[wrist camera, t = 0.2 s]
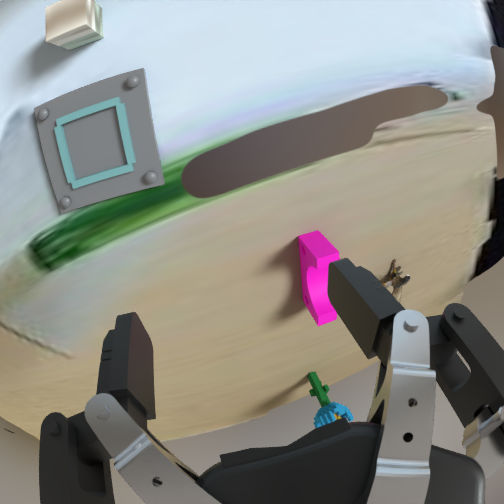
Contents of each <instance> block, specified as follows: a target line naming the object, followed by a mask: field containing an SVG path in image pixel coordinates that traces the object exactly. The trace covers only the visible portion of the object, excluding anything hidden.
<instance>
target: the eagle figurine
mask: <svg viewBox="0 0 504 504" xmlns="http://www.w3.org/2000/svg"><path fill="white" fill-rule="evenodd" d="M395 263H396V259H395V260H394V262H393V272H392V274H391V276H390V277H389V279H388V282H386V283H382V284H383V285H385V286H393V288H394V291H393V292H392V295H393V296H394V297H395V298H396V300H397V301H398V302H399V303H400V299H401V291H402V287H403V286H404V285H406V284H407V282H408V281H409V280H410V276H409V274H408V275H407V276H405V277H404V278H401V277H400V276H399V275H401V274H402V273H403V271H402V272H400V273H397V272H398V271H399V270H400V268H401V267H400V266H398V267H397V268H396V267H395ZM394 277H396V278H395V279H393V278H394ZM389 280H390V281H389Z"/></svg>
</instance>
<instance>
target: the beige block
mask: <svg viewBox="0 0 504 504" xmlns="http://www.w3.org/2000/svg"><path fill="white" fill-rule="evenodd" d="M102 38H104V37H103V24H102V8H101V7H100V6H99V5H98V4H97V3H96V2H95V0H60V1H58V2H56V3H54V4H52V5H50V6H48V7H46V42H49V43H52V44H54V45H57V46H60V47H62V48H65V49H67V50H72V49H75V48H77V47H80V46H82V45H85V44H88V43H90V42H93V41H96V40H99V39H102Z"/></svg>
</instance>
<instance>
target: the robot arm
mask: <svg viewBox="0 0 504 504" xmlns="http://www.w3.org/2000/svg"><path fill="white" fill-rule="evenodd" d="M327 293H328V298H329V301H330V303H331V305H332V306H333V308H334V309H335V311H336V312H337V314H338V315H339V316H340V318H341V319H342V321H343V322H344V324H345V325H346V327H347V328H348V330H349V331H350V333H351V334H352V336H353V337H354V339H355V340H356V342H357V343H358V345H359V346H360V348H361V349H362V351H363V352H364V354H365V355H366V357H367V358H368V359H370V358H373V357H375V356H378V358H379V359H380V362H379V366H378V372H377V379H376V386H375V390H374V396H373V401H372V405H371V408H370V411H369V414H368V417H367V421H366V422H350V423H348V421H347V419H346V417H343V418H341V419H338V420H336V421H333V422H331V423H328V424H326V425H323V426H320V427H318V428H315V429H314V430H312V431H311V432H309V433H308V434H306V435H305V436H303V437H301V438H300V439H298V440H297V441H295V442H293V443H292V444H290V445H288V446H283V447H269V448H268V447H267V448H249V449H245V450H241V451H237V452H232V453H227V454H222V455H220V458H221V462H219V463H217V464H215V465H213V466H212V467H210V468H209V469H207V470H206V471H205V472H204V473H203V474H202V475H201V476H199V475H198V474H197V473H195V472H194V471H193V470H192V469H190V468H189V467H188V466H187V465H185V464H184V463H183V462H182V461H180V460H179V459H178V458H177V457H176V456H175V455H174V454H173V453H171V452H170V451H169V450H168V449H167V448H166V447H165V446H164V445H163V444H162V443H161V442H160V441H159V440H158V439H157V438H156V437H155V436H154V435H153V434H152V433H151V432H150V431H149V430H148V429H147V420H150V419H156V414H155V397H154V370H153V346H152V342H151V339H150V337H149V335H148V333H147V331H146V330H145V328H144V326H143V324H142V322H141V321H140V319H139V317H138V315H137V314H136V313H135V312H132V313H127V314H123V315H118V316H117V318H116V325H115V329H114V330H109V332H108V334H107V335H106V337H105V339H104V341H103V347H102V354H101V362H100V368H99V376H98V385H97V393H96V395H95V396H93V397H92V398H91V399H90V400H89V401H88V403H87V404H86V407H85V411H83V412H81V413H79V414H76V415H74V416H71V417H69V418H66V417H65V416H64V415H62V414H61V413H58V412H54V413H51V414H49V415H48V416H46V418H45V419H44V420H43V422H42V425H41V434H40V451H39V452H40V453H39V486H40V503H41V504H115V500H114V494H113V487H112V479H111V471H110V461H109V459H111V458H113V459H114V460H115V463H114V466H115V468H116V470H117V471H118V473H119V474H120V475H121V476H122V477H123V479H124V480H125V481H126V482H127V483H128V485H129V486H130V487H131V488H132V489H133V490H134V491H135V493H136V494H137V495H138V496H139V497H140V498H141V499H142V500H143V501H144V502H145V503H146V504H485V481H486V480H487V479H488V478H489V477H490V476H491V475H492V474H493V473H494V472H495V471H497V470H498V469H499V468H500V467H501V466H502V465H503V464H504V350H503V349H502V348H501V347H500V346H499V344H498V343H497V342H496V340H495V339H494V338H493V337H492V336H491V334H490V333H489V332H488V331H487V329H486V328H485V327H484V326H483V325H482V324H481V323H480V321H479V320H478V319H477V318H476V317H475V315H474V314H473V313H472V312H471V311H470V310H469V309H468V308H467V307H465V306H464V305H462V304H458V303H452V304H449V305H448V306H447V307H446V308H445V310H444V312H443V314H442V315H437V316H430V317H425V316H424V315H423V314H421V313H420V312H418V311H415V310H406V309H405V308H404V307H403V306H402V305H401V304H400V303H399V302H398V301H397V300H396V298H395V297H394V296H393V295H392V294H391V293H390V292H389V291H388V290H387V289H386V287H384V285H383V284H382V283H381V282H380V281H378V279H377V278H376V277H375V276H374V275H373V274H372V273H371V272H370V271H368V270H367V269H365V268H363V267H361V266H359V267H355V265H354V264H353V263H352V262H351V261H350V260H349V259H348V258H344V259H340V260H337V261H333V262H330V263H329V266H328V286H327ZM457 351H459V353H460V354H461V355H462V356H463V358H464V359H465V361H466V362H467V363H468V365H469V367H470V369H471V373H470V371H469V370H468V368H467V367H466V366H465V364H464V363H463V361H462V360H461V359H460V357H459V356H458V355H457V353H456V352H457ZM436 381H437V383H438V384H439V386H440V388H441V389H442V391H443V392H444V394H445V396H446V397H447V399H448V401H449V402H450V404H451V406H452V407H453V409H454V411H455V412H456V414H457V416H458V417H459V419H460V421H461V423H462V424H463V426H464V428H465V430H464V435H463V437H464V438H463V441H462V446H463V447H464V448H465V449H466V455H463V454H460V453H456V452H453V451H450V450H447V449H443V448H440V447H437V446H434V445H432V444H431V443H432V434H433V425H434V413H435V396H436Z"/></svg>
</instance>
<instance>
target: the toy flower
mask: <svg viewBox="0 0 504 504" xmlns="http://www.w3.org/2000/svg"><path fill="white" fill-rule="evenodd" d="M307 377H308V379H309V381H310V383H311V385H312V388H313V389H311V390H310V391H309V392H310V394H311V396H317V398H318V400H319V402H320V404H321V407H322V408H320V409H319V410H318V413H317V414H316V417H315V418H314V420H315V422H314V425H315V427H316V428H318V427H320V426H323V425H326V424H328V423H331V422H333V421H336V420H338V419H341V418H343V417H346V418H348V420H349V421H352V420H353V416H352V414H351V412H350V410H349V409H348V408H347V407H346V406H343V405H342V404H338V403H335V402H333V403H331V402H330V401H329V399H328V396H327V395H326V393H327V392H328V391H329V388H328V386H327V385H324V386H322V384H321V381H320V380H319V378H318V376H317V374H316V372H311V373H309V375H308V376H307Z"/></svg>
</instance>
